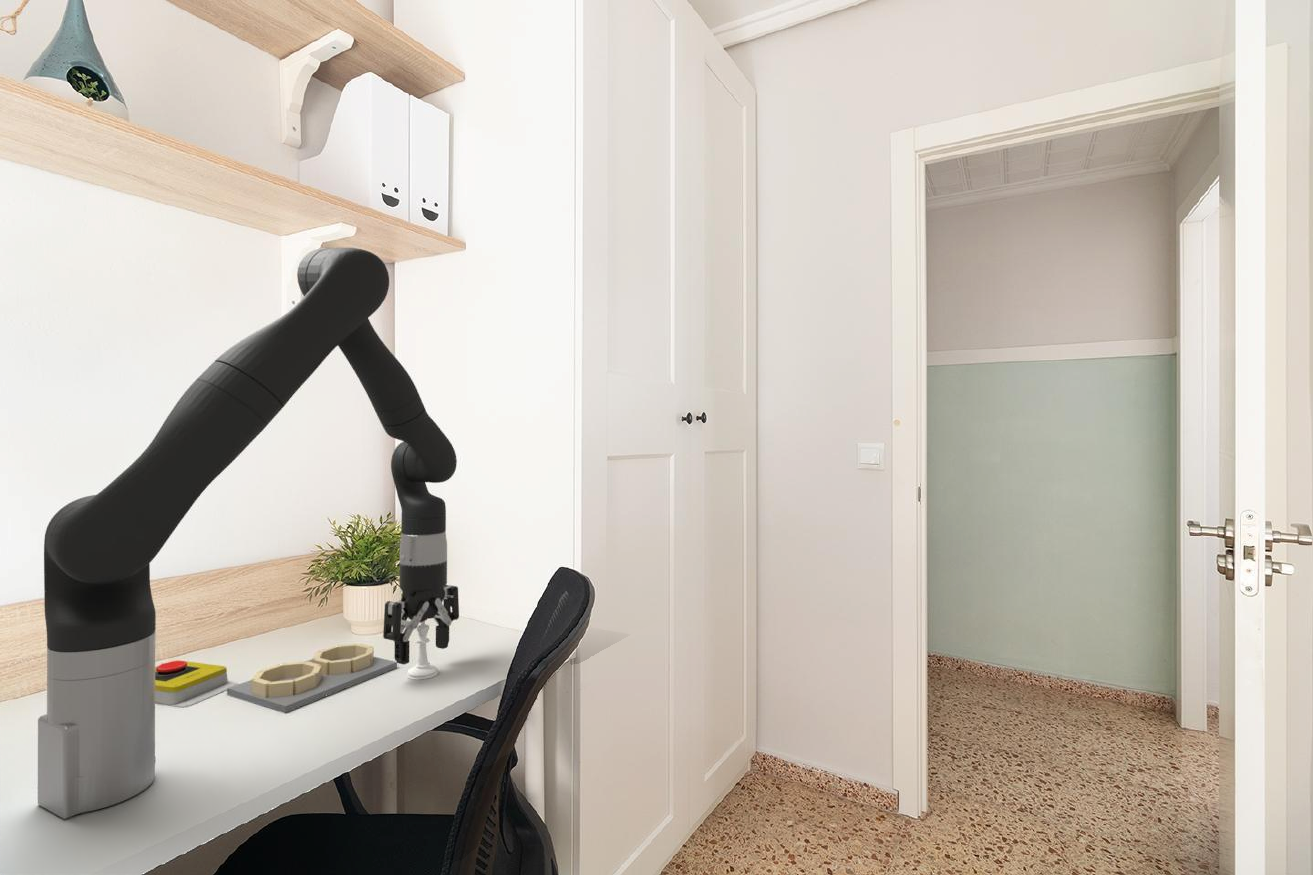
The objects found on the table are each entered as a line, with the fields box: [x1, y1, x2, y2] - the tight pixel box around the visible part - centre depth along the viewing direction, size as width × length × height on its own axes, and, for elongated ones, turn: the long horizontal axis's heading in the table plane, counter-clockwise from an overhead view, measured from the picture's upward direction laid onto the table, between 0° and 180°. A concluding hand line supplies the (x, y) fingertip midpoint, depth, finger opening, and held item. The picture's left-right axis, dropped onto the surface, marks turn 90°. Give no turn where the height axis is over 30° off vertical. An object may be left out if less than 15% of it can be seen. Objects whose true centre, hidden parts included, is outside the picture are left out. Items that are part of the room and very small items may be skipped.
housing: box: [226, 643, 398, 714], centre depth 104 cm, size 20×14×3 cm
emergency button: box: [155, 659, 239, 709], centre depth 100 cm, size 9×4×15 cm
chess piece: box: [406, 619, 439, 681], centre depth 107 cm, size 5×5×10 cm
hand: (423, 655), depth 107 cm, fingers open, 8 cm apart
